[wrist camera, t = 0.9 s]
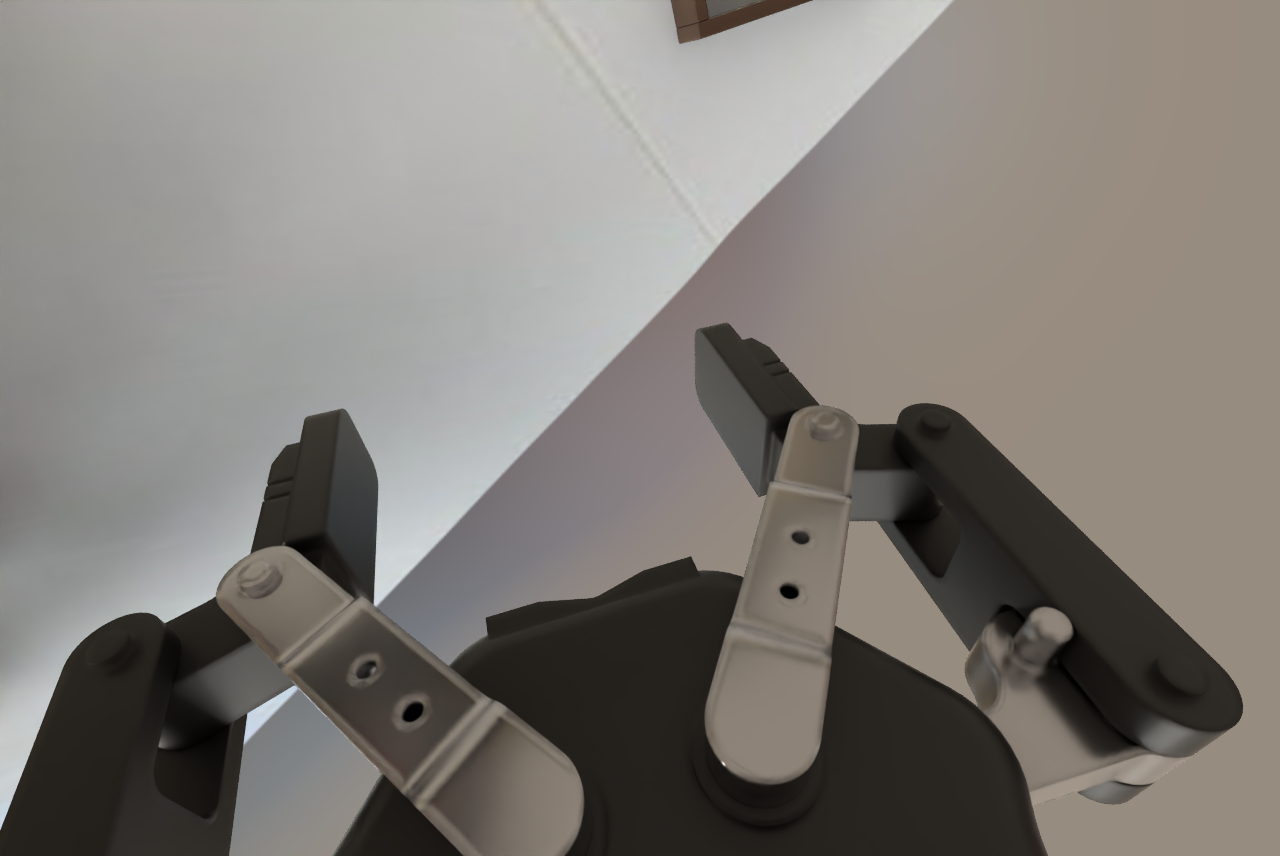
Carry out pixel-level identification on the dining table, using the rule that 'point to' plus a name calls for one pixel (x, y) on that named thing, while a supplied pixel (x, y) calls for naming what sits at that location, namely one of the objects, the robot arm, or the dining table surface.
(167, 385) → the dining table surface
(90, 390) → the dining table surface
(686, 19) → the walnut frame
